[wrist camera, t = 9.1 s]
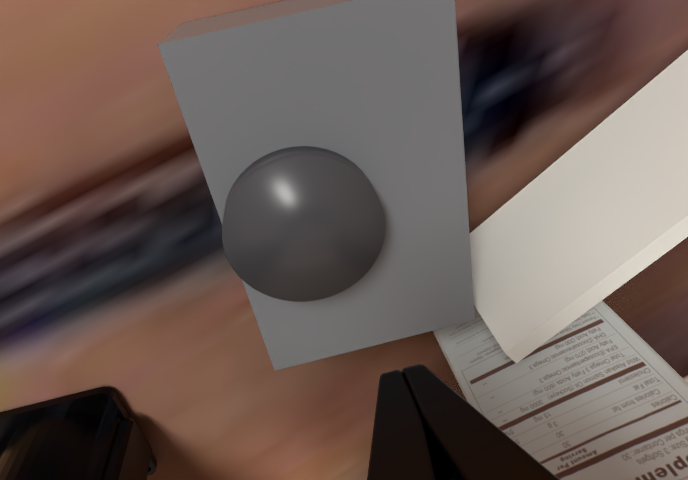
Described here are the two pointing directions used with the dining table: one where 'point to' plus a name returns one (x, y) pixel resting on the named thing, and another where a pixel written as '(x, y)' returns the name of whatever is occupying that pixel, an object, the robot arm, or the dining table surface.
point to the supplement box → (579, 398)
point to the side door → (587, 219)
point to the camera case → (333, 166)
